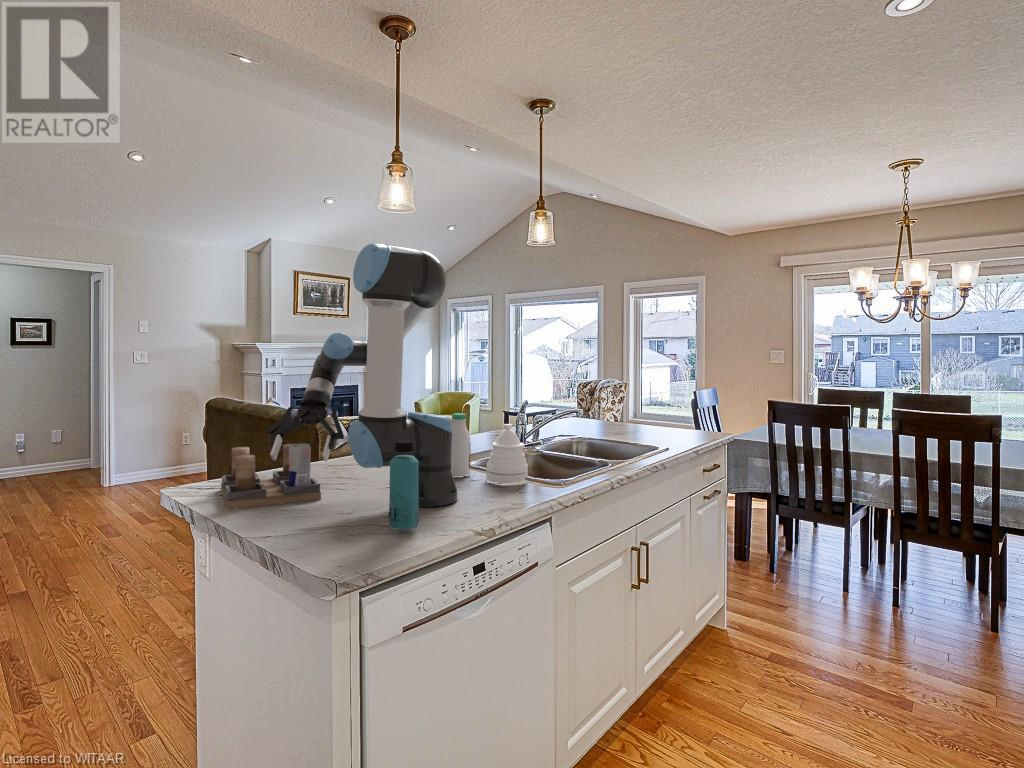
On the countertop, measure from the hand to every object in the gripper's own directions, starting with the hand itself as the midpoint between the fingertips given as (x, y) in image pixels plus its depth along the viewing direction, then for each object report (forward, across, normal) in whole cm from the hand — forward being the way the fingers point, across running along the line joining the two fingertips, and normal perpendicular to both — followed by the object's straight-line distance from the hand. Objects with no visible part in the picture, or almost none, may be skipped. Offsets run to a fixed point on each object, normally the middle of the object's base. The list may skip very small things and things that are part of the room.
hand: (298, 458), depth 145 cm
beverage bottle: (+27, -32, +12) cm, 44 cm away
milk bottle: (-14, -40, -29) cm, 51 cm away
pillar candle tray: (+6, +9, -9) cm, 14 cm away
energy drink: (+6, 0, -6) cm, 9 cm away
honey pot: (-8, -56, -24) cm, 61 cm away
